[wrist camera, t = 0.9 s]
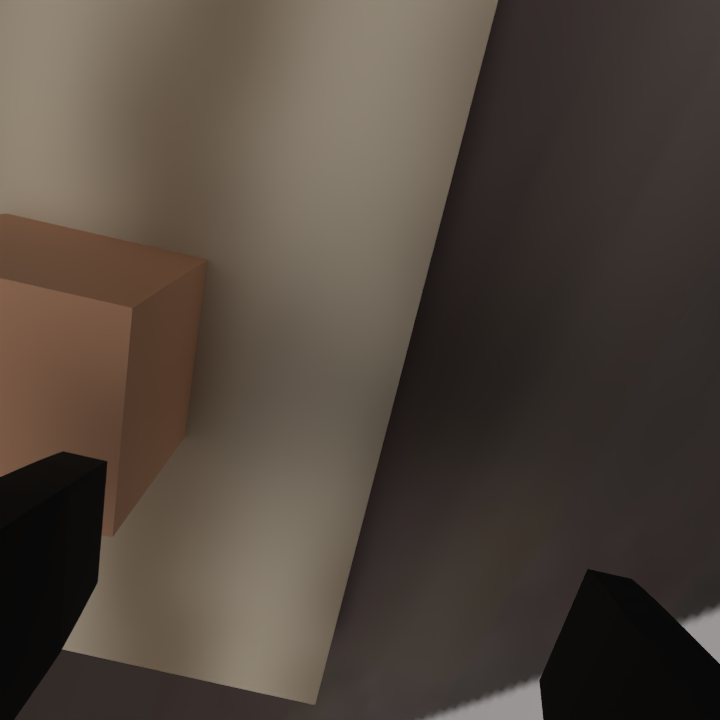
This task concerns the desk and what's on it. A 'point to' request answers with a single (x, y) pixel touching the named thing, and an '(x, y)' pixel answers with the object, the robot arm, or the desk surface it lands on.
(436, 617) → the desk surface
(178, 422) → the block
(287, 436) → the trap board
